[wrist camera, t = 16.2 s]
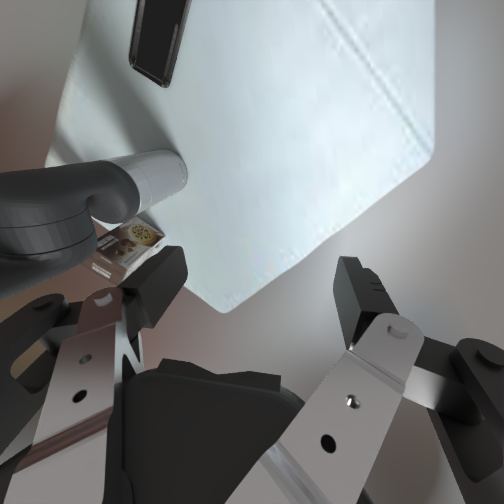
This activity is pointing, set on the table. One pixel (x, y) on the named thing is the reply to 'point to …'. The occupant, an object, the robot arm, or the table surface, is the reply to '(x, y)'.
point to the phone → (158, 38)
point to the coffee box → (124, 250)
